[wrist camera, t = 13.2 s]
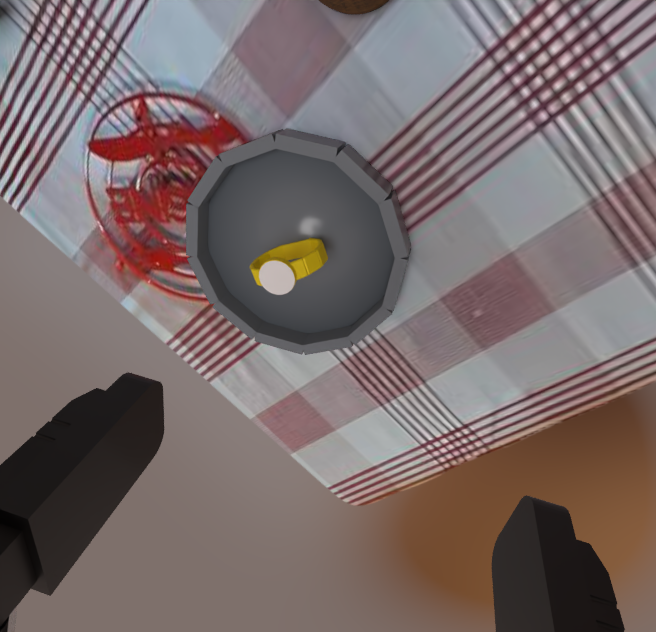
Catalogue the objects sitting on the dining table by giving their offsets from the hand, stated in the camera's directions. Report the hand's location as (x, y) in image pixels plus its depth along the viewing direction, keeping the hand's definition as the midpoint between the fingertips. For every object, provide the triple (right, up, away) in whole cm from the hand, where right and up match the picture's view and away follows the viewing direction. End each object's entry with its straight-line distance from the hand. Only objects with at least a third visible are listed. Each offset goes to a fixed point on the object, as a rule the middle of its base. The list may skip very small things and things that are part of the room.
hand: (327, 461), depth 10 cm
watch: (-2, +9, +28) cm, 30 cm away
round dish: (-2, +9, +29) cm, 30 cm away
